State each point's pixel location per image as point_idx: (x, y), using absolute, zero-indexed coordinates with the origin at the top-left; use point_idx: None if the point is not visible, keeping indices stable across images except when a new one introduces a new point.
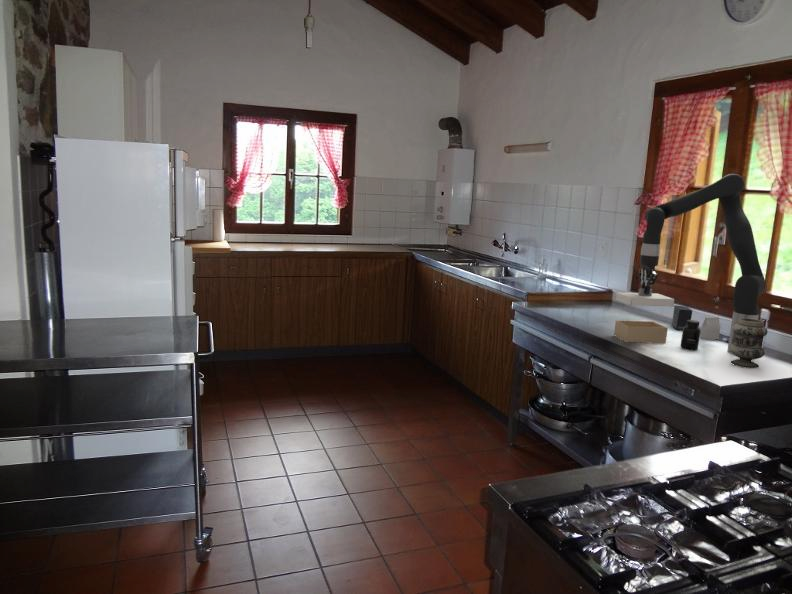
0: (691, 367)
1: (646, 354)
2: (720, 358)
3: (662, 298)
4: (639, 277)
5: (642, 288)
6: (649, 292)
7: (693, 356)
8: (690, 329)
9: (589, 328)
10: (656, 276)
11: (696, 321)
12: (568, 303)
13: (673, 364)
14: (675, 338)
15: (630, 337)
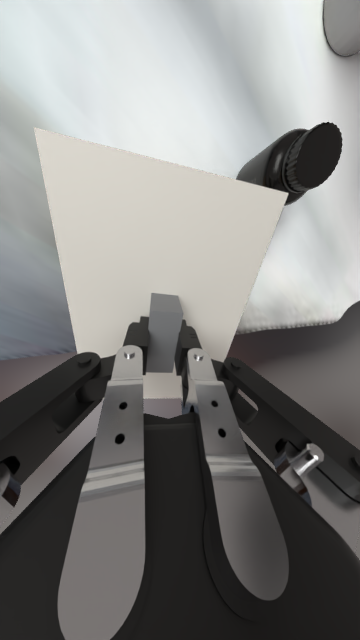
0: (330, 298)
1: (253, 324)
2: (341, 173)
3: (248, 274)
4: (59, 430)
5: (148, 357)
6: (193, 329)
7: (298, 239)
8: (301, 196)
9: (59, 328)
10: (340, 450)
11: (329, 142)
12: None
13: (306, 315)
14: (144, 116)
15: None
